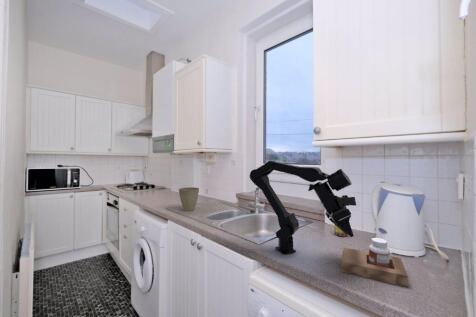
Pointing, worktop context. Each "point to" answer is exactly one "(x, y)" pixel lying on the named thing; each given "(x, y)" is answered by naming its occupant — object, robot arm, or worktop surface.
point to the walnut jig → (373, 267)
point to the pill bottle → (379, 253)
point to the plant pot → (189, 197)
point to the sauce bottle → (336, 229)
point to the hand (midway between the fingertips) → (349, 234)
